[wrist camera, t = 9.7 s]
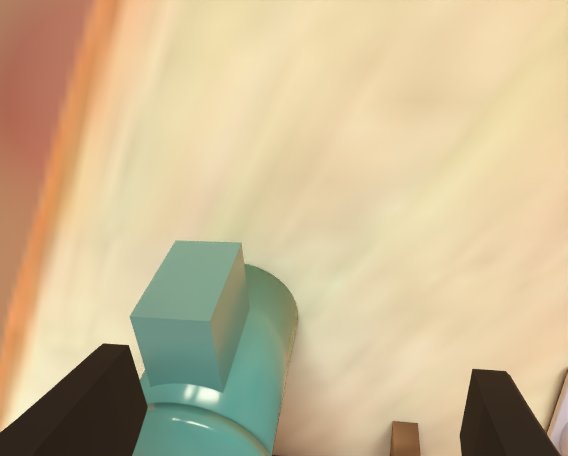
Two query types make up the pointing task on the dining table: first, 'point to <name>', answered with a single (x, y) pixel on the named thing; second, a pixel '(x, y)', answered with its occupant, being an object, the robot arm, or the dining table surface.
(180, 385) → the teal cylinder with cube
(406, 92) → the dining table surface
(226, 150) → the dining table surface
